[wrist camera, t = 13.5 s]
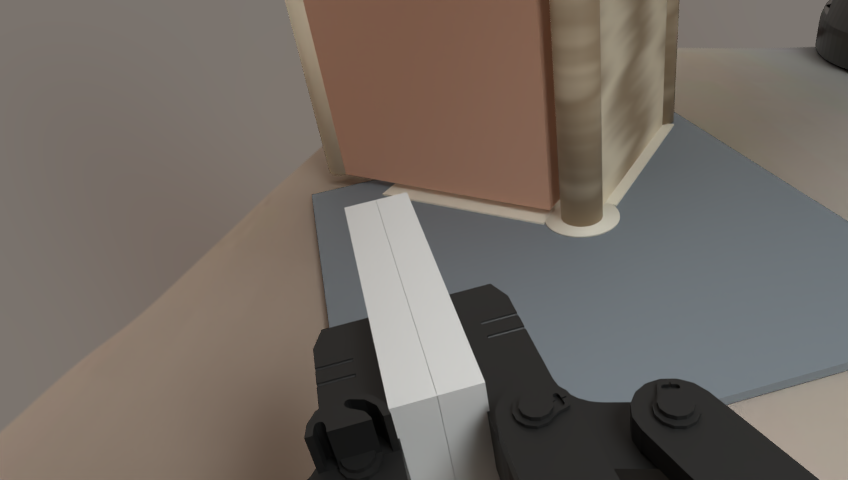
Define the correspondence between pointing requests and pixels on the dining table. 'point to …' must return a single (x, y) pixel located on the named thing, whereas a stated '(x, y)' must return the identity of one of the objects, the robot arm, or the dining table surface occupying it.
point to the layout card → (641, 272)
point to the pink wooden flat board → (435, 93)
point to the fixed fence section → (608, 93)
